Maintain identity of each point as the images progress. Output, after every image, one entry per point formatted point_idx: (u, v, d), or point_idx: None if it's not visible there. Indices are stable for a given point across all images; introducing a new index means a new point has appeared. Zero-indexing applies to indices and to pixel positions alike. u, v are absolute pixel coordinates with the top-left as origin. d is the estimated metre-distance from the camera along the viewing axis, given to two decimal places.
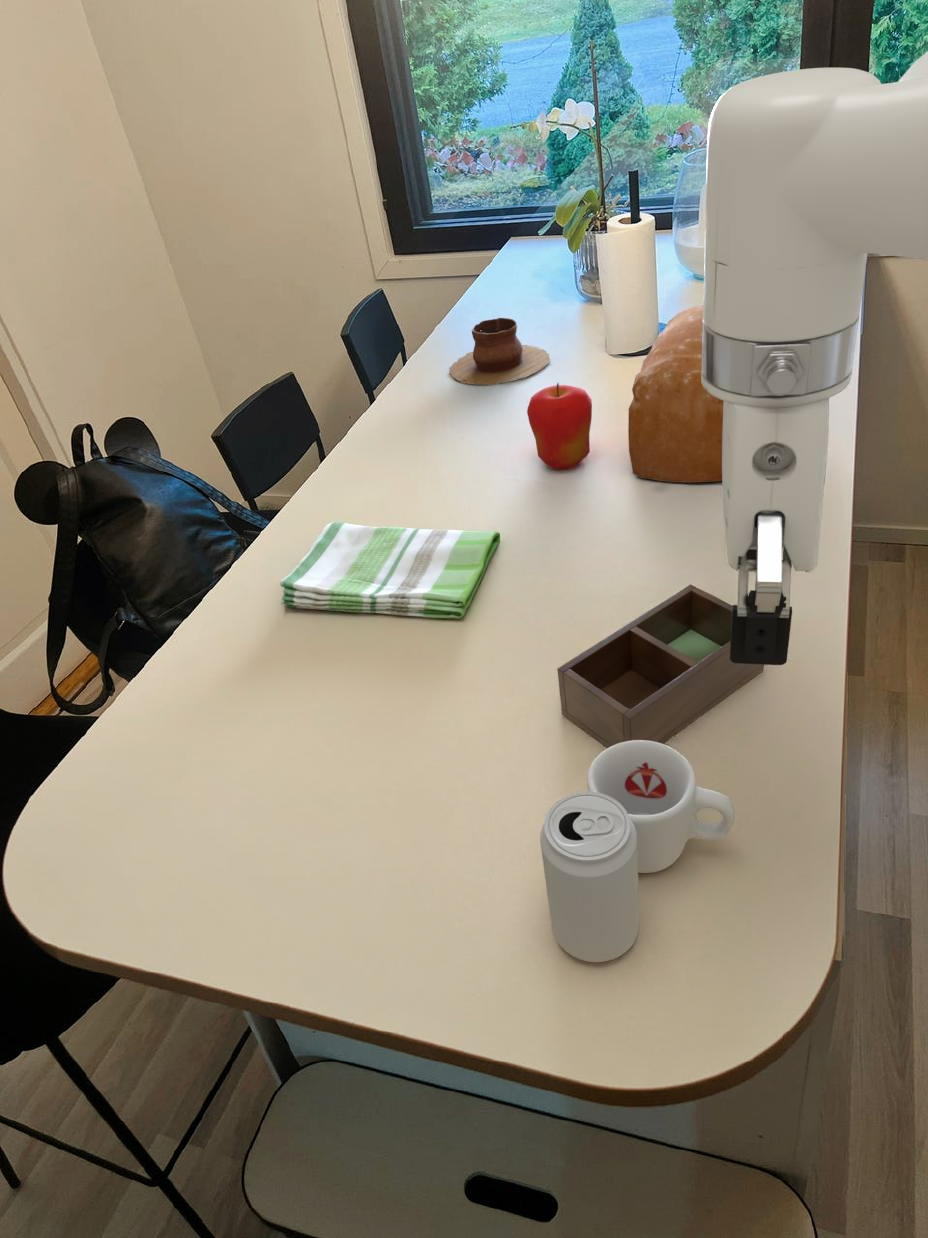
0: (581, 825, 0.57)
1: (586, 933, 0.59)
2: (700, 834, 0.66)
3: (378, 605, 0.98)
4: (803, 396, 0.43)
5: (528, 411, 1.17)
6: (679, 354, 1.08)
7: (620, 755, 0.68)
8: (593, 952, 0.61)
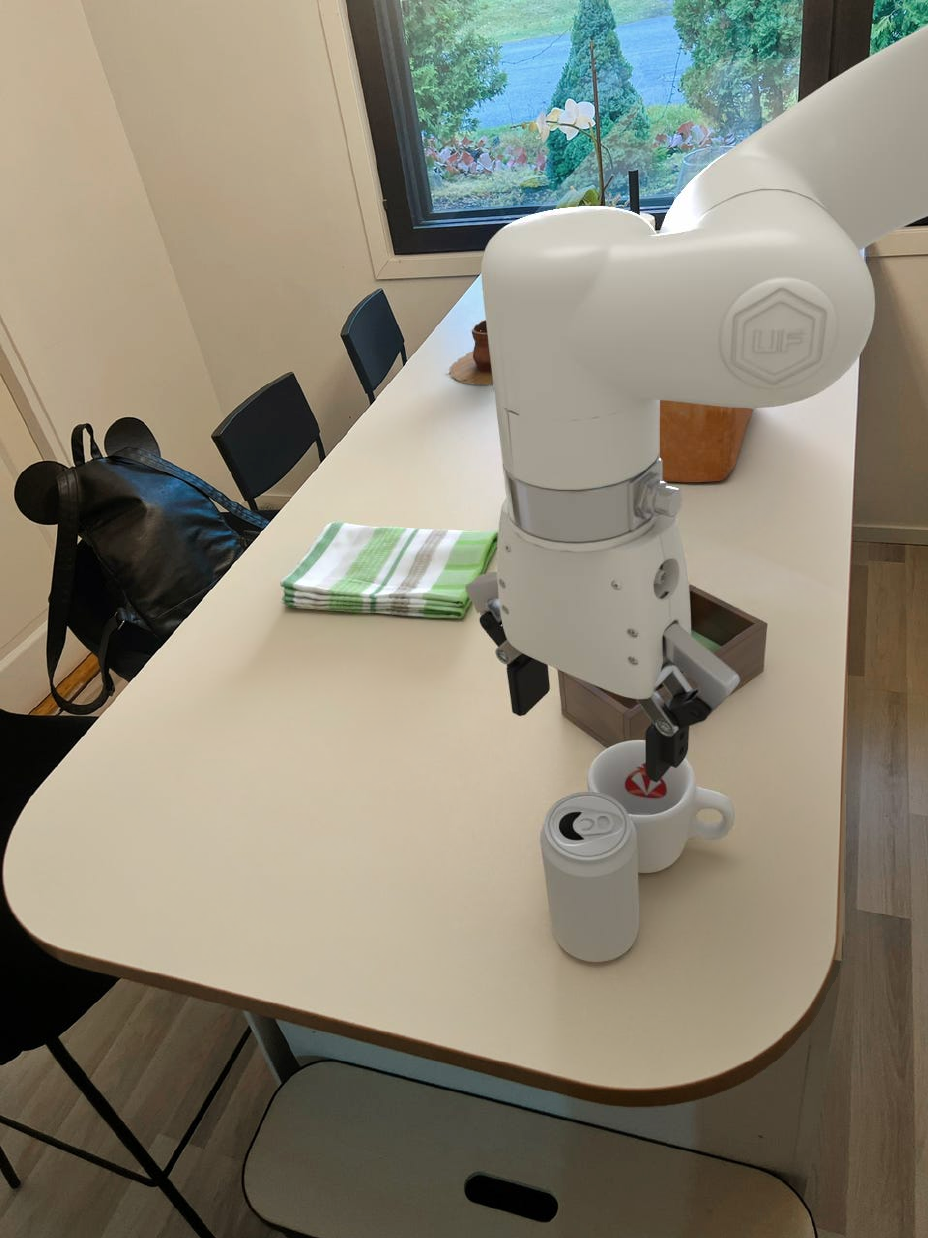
0: (581, 825, 0.57)
1: (586, 933, 0.59)
2: (700, 834, 0.66)
3: (378, 605, 0.98)
4: None
5: None
6: None
7: (620, 755, 0.68)
8: (593, 952, 0.61)
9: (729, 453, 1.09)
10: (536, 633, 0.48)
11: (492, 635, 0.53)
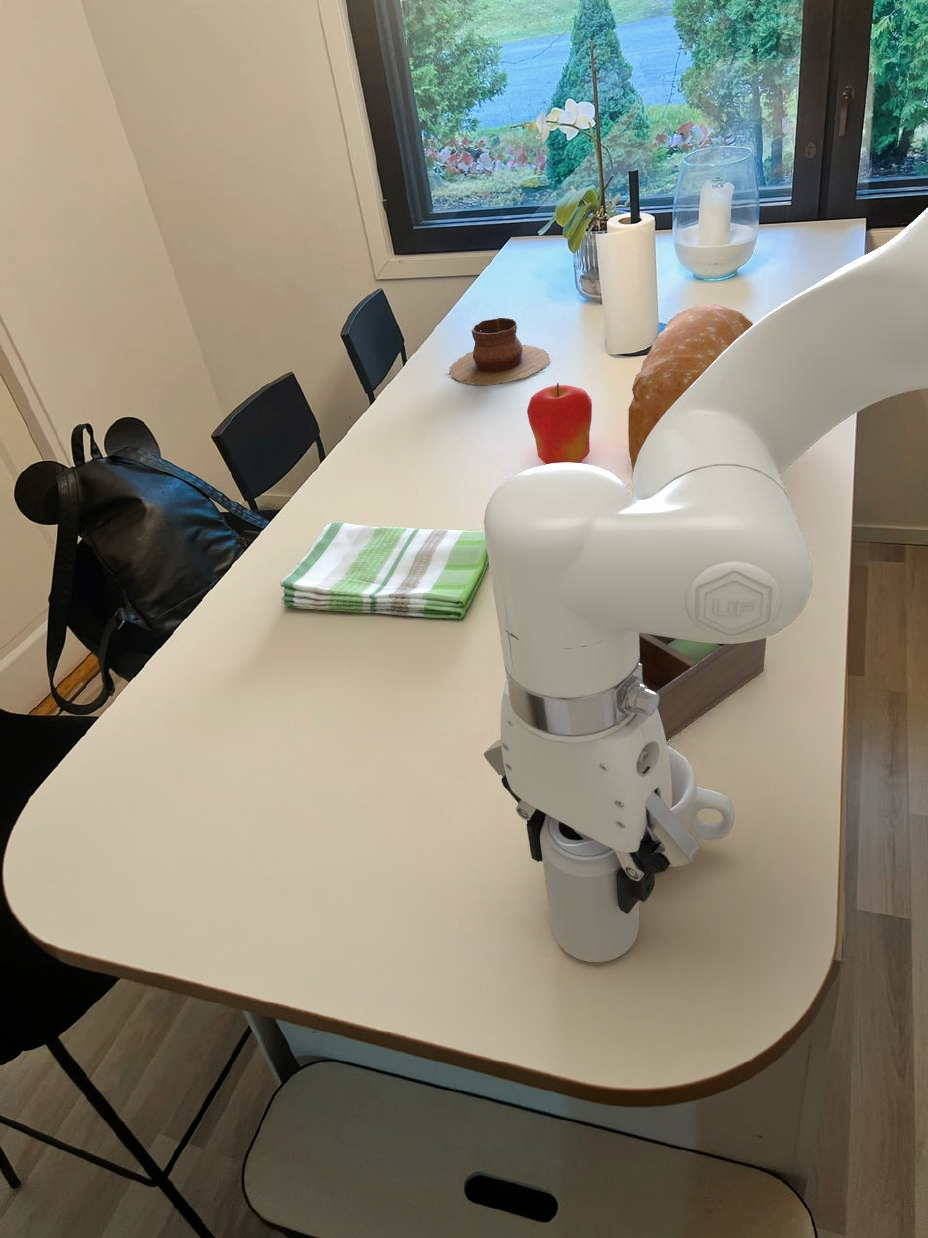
0: None
1: (585, 933, 0.59)
2: (700, 834, 0.66)
3: (378, 605, 0.98)
4: None
5: (528, 411, 1.17)
6: (679, 354, 1.08)
7: None
8: (593, 952, 0.61)
9: None
10: (535, 790, 0.54)
11: (513, 793, 0.60)
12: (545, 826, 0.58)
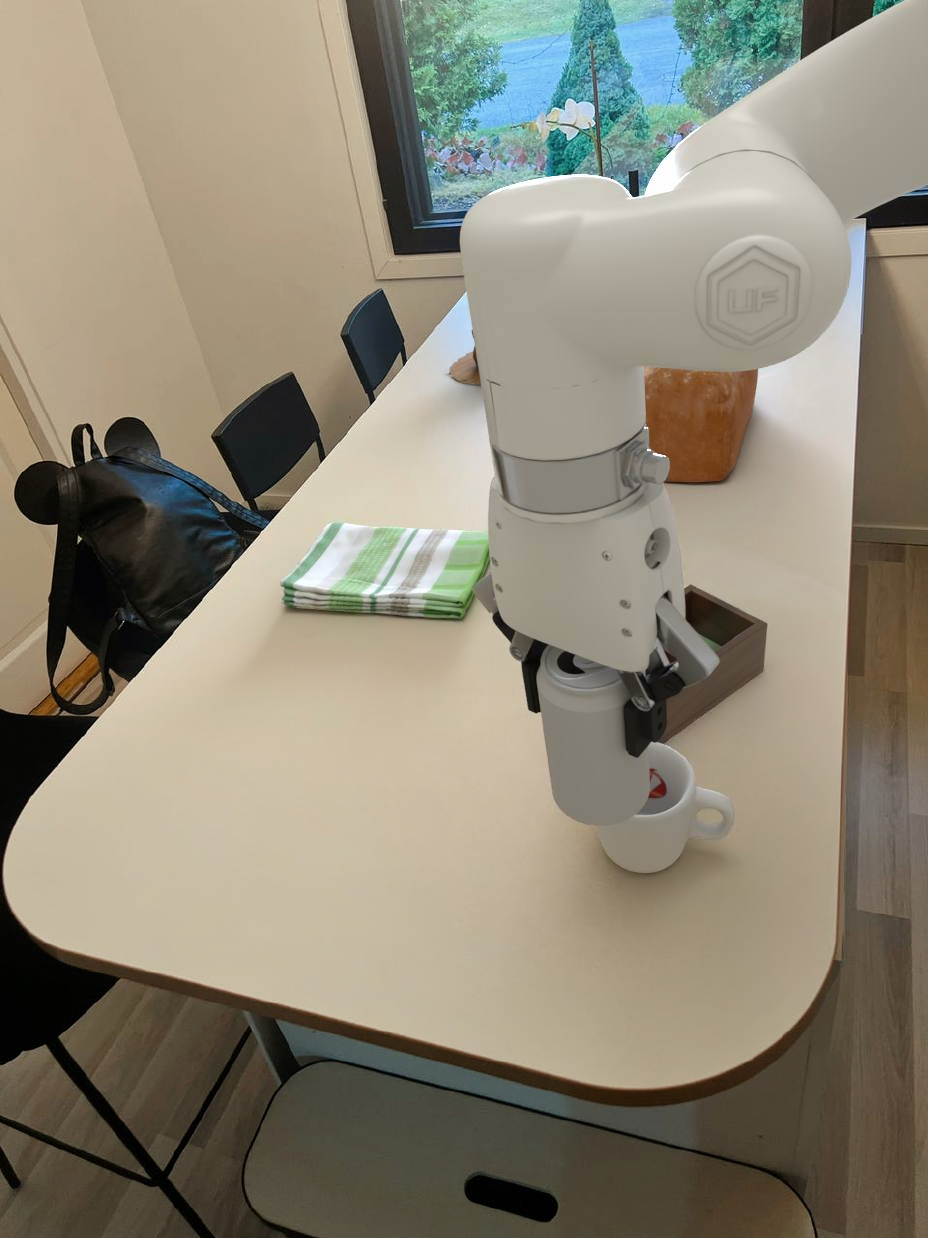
0: (582, 660, 0.51)
1: (590, 787, 0.53)
2: (700, 834, 0.66)
3: (378, 605, 0.98)
4: None
5: None
6: None
7: None
8: (599, 812, 0.54)
9: (729, 453, 1.09)
10: (530, 610, 0.48)
11: (506, 632, 0.53)
12: (542, 662, 0.51)
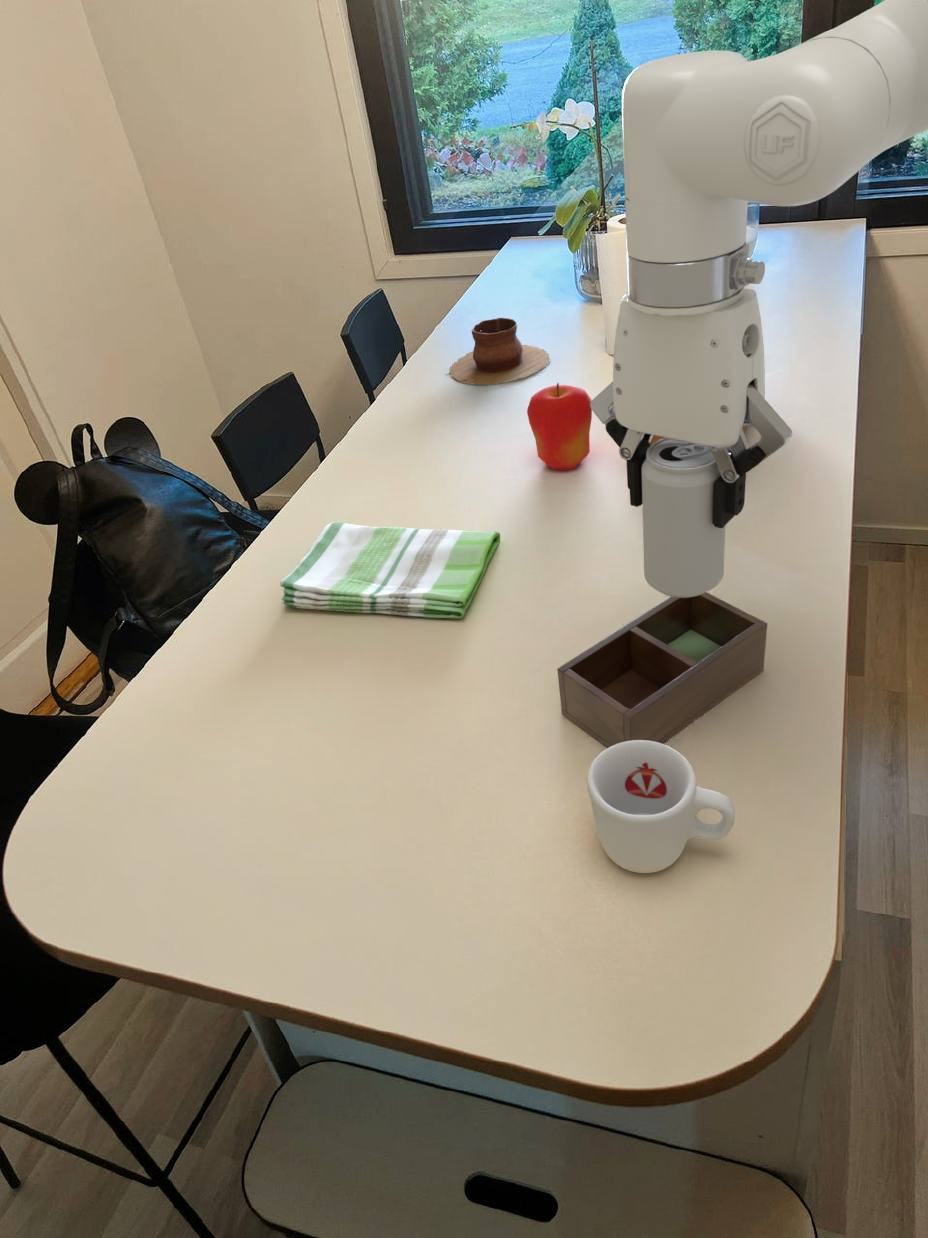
0: (679, 452, 0.66)
1: (681, 558, 0.68)
2: (700, 834, 0.66)
3: (378, 605, 0.98)
4: (743, 287, 0.57)
5: (528, 411, 1.17)
6: None
7: (620, 755, 0.68)
8: (686, 582, 0.69)
9: None
10: (644, 405, 0.63)
11: (616, 438, 0.68)
12: (647, 455, 0.66)
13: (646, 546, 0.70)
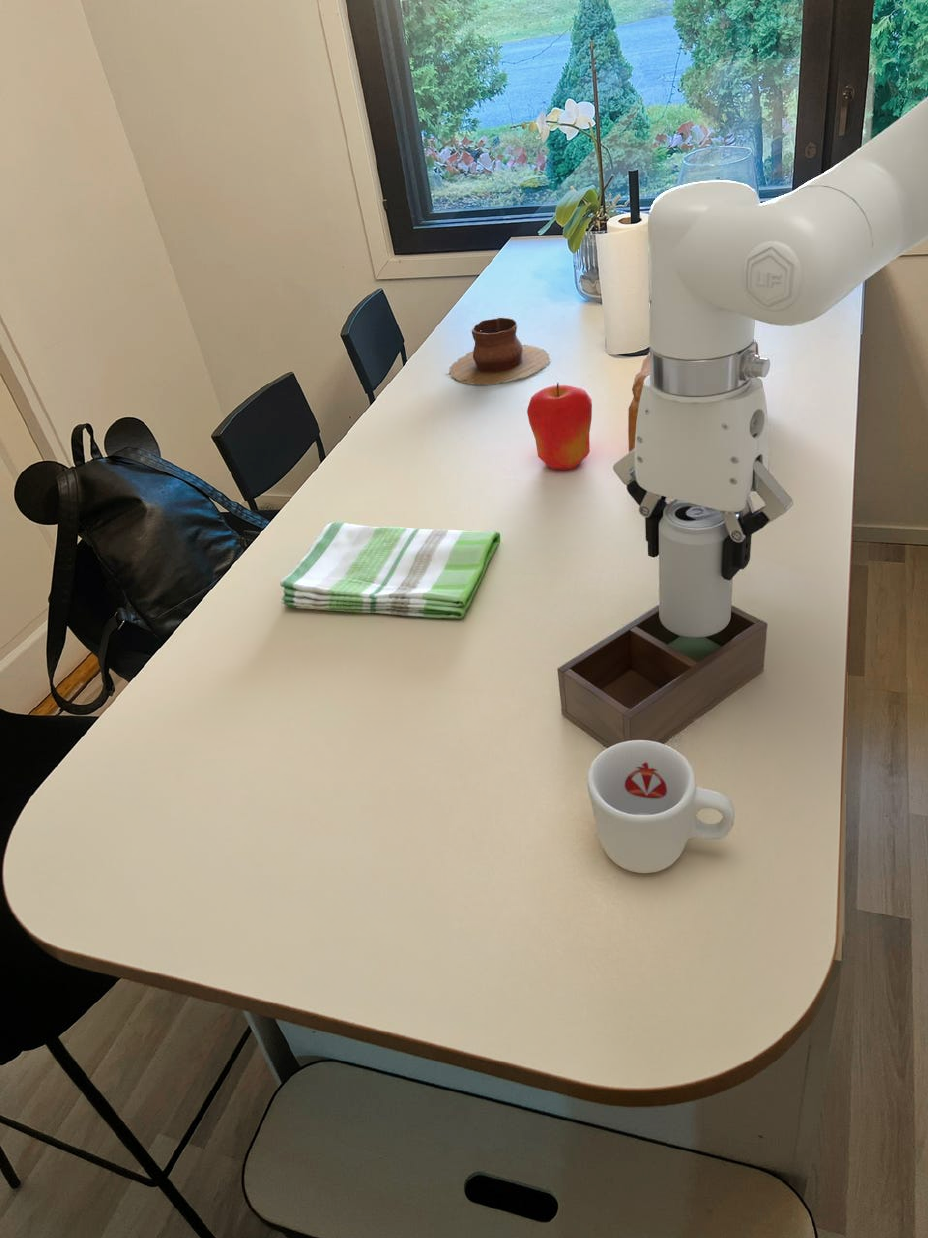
0: (692, 512, 0.74)
1: (693, 605, 0.76)
2: (700, 834, 0.66)
3: (378, 605, 0.98)
4: (751, 377, 0.65)
5: (528, 411, 1.17)
6: None
7: (620, 755, 0.68)
8: (697, 626, 0.77)
9: None
10: (662, 473, 0.71)
11: (636, 497, 0.76)
12: (664, 514, 0.74)
13: (662, 592, 0.78)
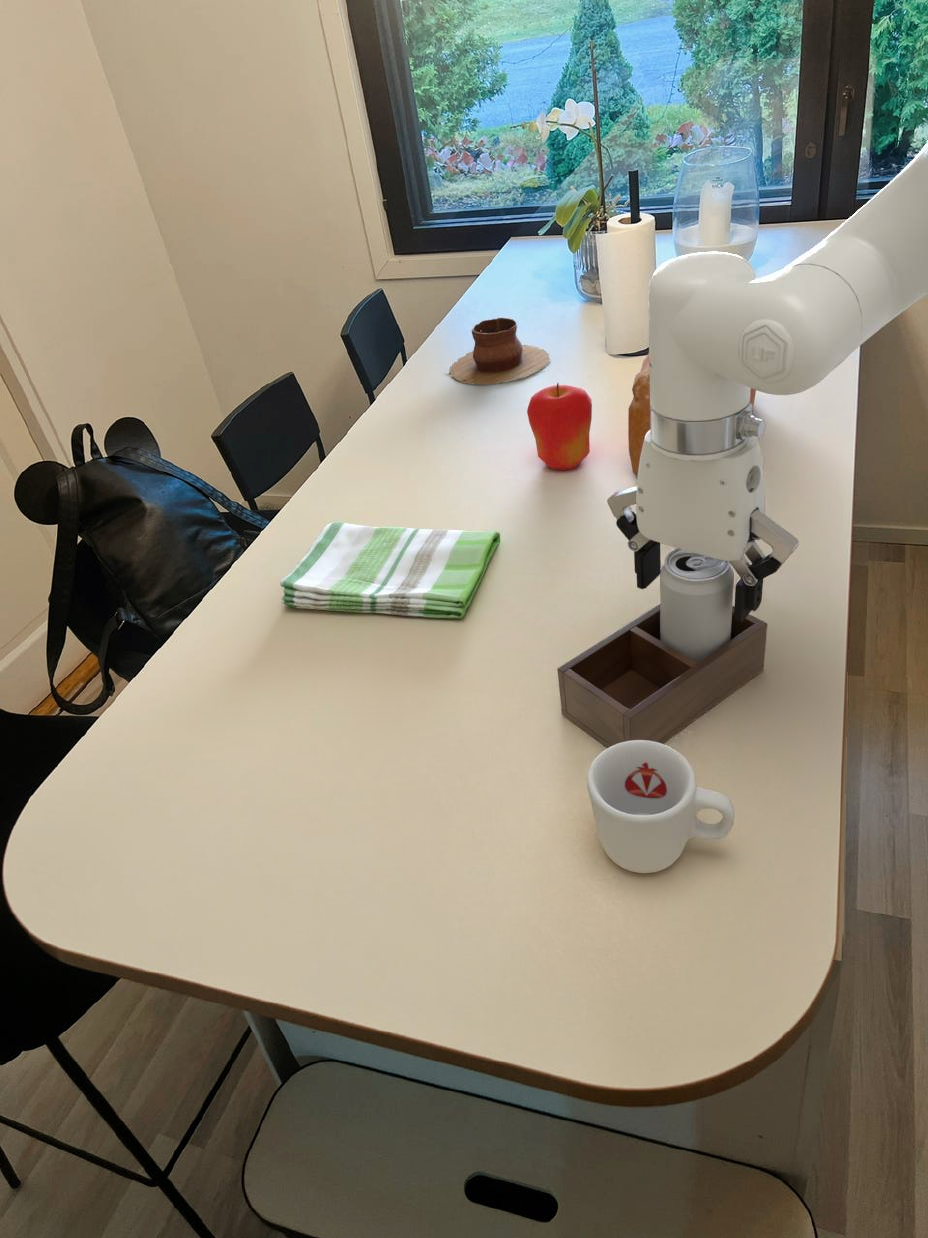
0: (692, 563, 0.77)
1: (693, 651, 0.79)
2: (700, 834, 0.66)
3: (378, 605, 0.98)
4: None
5: (528, 411, 1.17)
6: None
7: (620, 755, 0.68)
8: None
9: None
10: (663, 523, 0.74)
11: (625, 532, 0.79)
12: (665, 564, 0.77)
13: (663, 637, 0.81)
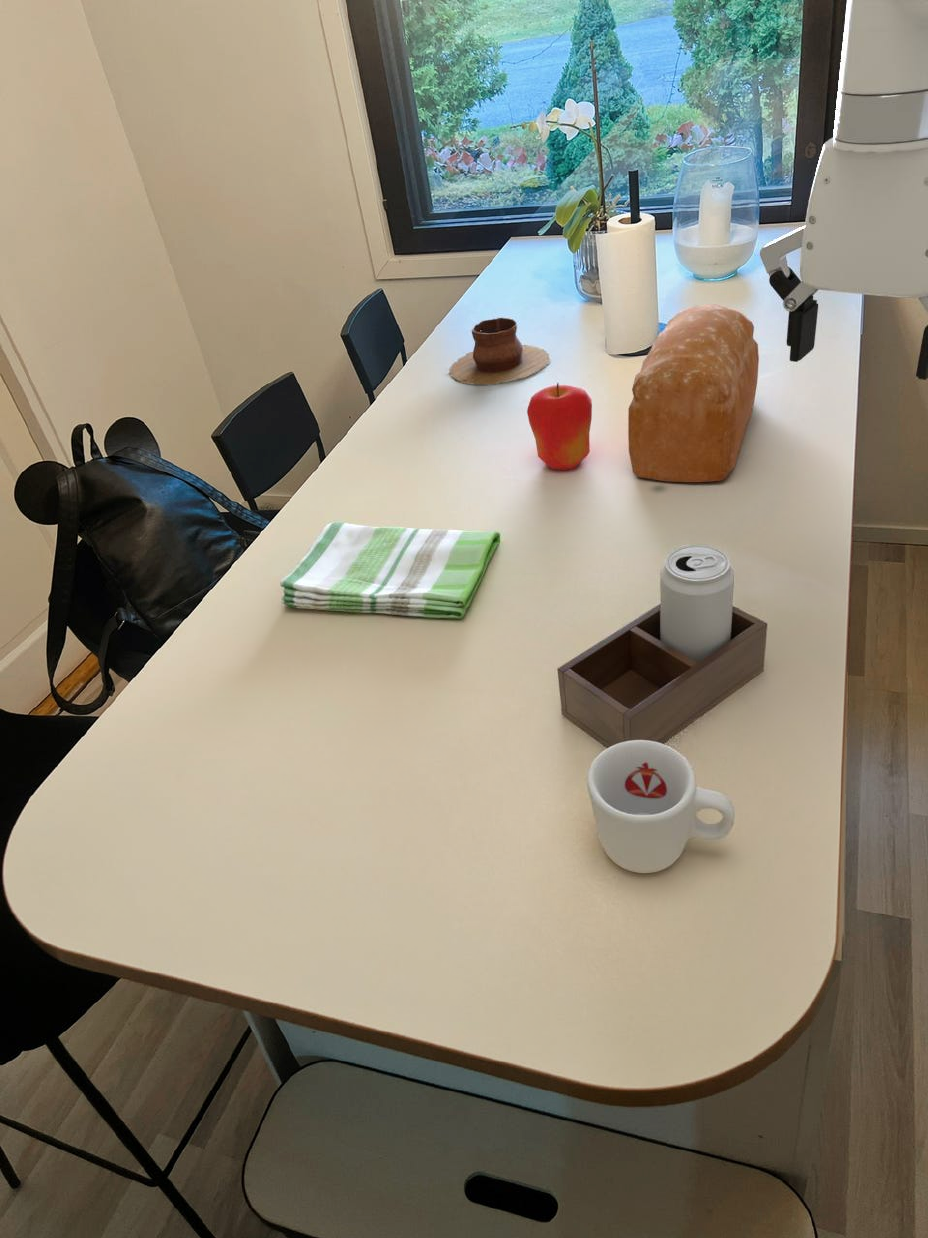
0: (692, 563, 0.77)
1: (693, 651, 0.79)
2: (700, 834, 0.66)
3: (378, 605, 0.98)
4: None
5: (528, 411, 1.17)
6: (679, 354, 1.08)
7: (620, 755, 0.68)
8: None
9: (729, 453, 1.09)
10: (838, 258, 0.63)
11: (779, 290, 0.68)
12: (666, 564, 0.77)
13: (663, 637, 0.81)
